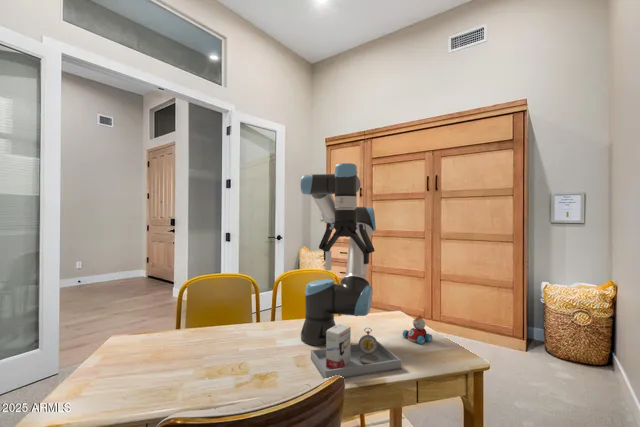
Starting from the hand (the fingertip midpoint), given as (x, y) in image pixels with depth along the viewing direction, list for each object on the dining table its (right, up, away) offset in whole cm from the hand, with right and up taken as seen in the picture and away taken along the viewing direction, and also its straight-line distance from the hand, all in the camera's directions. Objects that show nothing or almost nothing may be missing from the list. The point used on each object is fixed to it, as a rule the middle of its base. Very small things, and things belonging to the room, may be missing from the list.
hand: (345, 272), depth 109 cm
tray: (+3, -31, -1) cm, 31 cm away
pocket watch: (+8, -30, +1) cm, 31 cm away
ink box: (-2, -30, -2) cm, 30 cm away
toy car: (+31, -31, +21) cm, 49 cm away
